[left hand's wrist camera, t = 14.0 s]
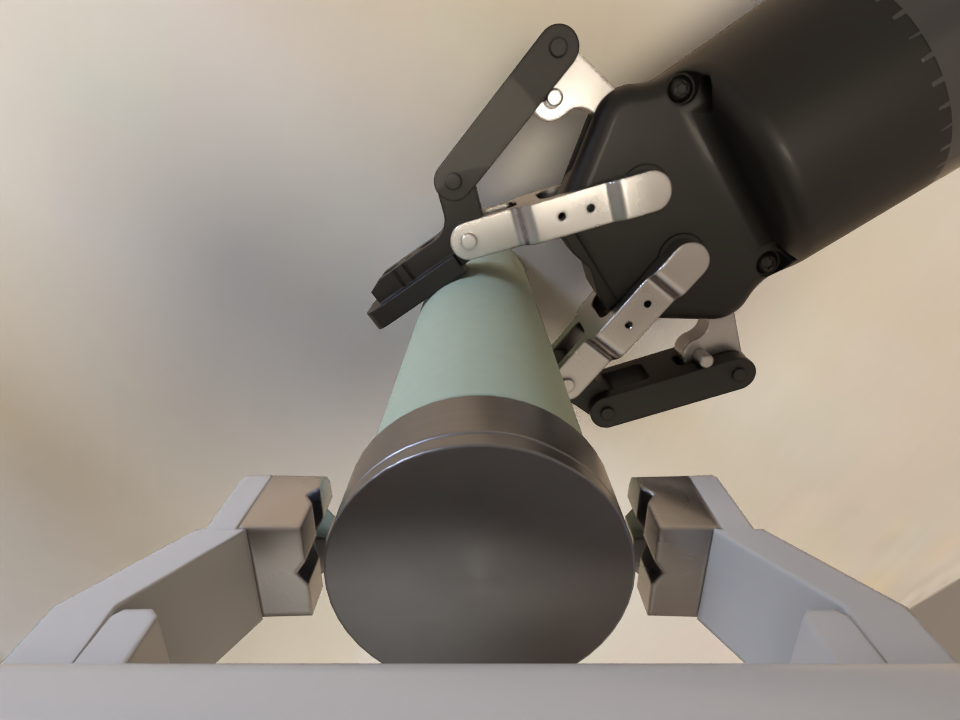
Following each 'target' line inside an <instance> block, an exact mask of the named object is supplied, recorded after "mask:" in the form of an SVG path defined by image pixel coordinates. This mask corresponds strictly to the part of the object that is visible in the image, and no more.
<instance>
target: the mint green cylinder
mask: <svg viewBox="0 0 960 720" xmlns="http://www.w3.org/2000/svg"><path fill="white" fill-rule="evenodd" d="M469 395H489V396H498V397H507V398H511V399H515V400H519V401H524V402H527V403H529V404H532V405H535V406H537V407H540V408H543V409H545V410H547V411H548V412H550V413H552V414H554V415H556V416H558V417H560V418H561V419H562V420H564V421H565V422H567V423H568V424H569V425H571V426H572V427H574V428H575V429H576V430H577V431H578V432H579V433H580V434H581V435H582V432H581V430H580V427H579V424H578V421H577V418H576V415H575V412H574V410H573V407H572V404H571V401H570V398H569V395H568V392H567V390H566V387H565V384H564V381H563V378H562V375H561V372H560V370H559V367H558V364H557V361H556V358H555V355H554V352H553V350H552V347H551V344H550V341H549V338H548V335H547V332H546V330H545V327H544V324H543V321H542V318H541V315H540V312H539V310H538V307H537V304H536V301H535V298H534V295H533V292H532V290H531V287H530V284H529V281H528V278H527V275H526V272H525V270H524V267H523V265H522V263H521V261H520V260H519V258H518V257H517V256H516V254H515V253H514V252H513V251H512V250H510V249H508V250H505V251H501V252H498V253H494V254H491V255H487V256H484V257H480V258H477V259H473V260H470V261H468V262H467V263H466V270H465V273H464V274H462V275H461V276H459V277H458V278H457V279H455V280H454V281H452V282H451V283H449V284H448V285H446V286H444V287H443V288H441V289H440V290H438V291H437V292H436V293H434V294H433V295H431V296H430V297H429V298H427V299H426V300H424V302H423V305H422V308H421V311H420V314H419V317H418V319H417V322H416V325H415V328H414V331H413V334H412V336H411V339H410V342H409V345H408V348H407V351H406V353H405V356H404V359H403V362H402V365H401V368H400V370H399V373H398V376H397V379H396V382H395V385H394V388H393V390H392V393H391V396H390V399H389V402H388V405H387V407H386V410H385V413H384V416H383V419H382V422H381V424H380V427H379V430H378V433H377V435H378V434H379V433H380V432H381V431H382V430H384V429H385V428H386V427H387V426H388V425H390V424H391V423H393V422H394V421H395V420H397V419H398V418H400V417H401V416H403V415H405V414H407V413H409V412H411V411H413V410H414V409H417V408H419V407H422V406H424V405H427V404H430V403H432V402H436V401H440V400H444V399H448V398H453V397H461V396H469ZM582 436H583V435H582Z"/></svg>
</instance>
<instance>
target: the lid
mask: <svg viewBox="0 0 960 720" xmlns="http://www.w3.org/2000/svg"><path fill="white" fill-rule="evenodd" d="M324 577H325V584H326V590H327V593H328V596H329V599H330V603H331V605H332V607H333V609H334V611H335V614H336V616H337V618H338V619H339V621H340V622H341V624H342V625H343V627H344V628H345V630H346V631H347V633H348V634H349V635H350V636H351V637H352V638H353V639H354V640H355V642H356V643H357V644H358V645H359V646H360V647H362V648H363V649H364V650H365V651H366V652H367V653H368V654H370V655H371V656H372V657H374V658H375V659H377V660H378V661H379V662H381V663H382V664H577V663H578V662H580V661H581V660H583V659H584V658H586V657H587V656H588V655H590V654H591V653H592V652H593V651H594V650H595V649H596V648H598V647H599V646H600V645H601V644H602V643H603V642H604V641H605V640H606V638H607V637H608V636H609V635H610V634H611V633H612V632H613V630H614V629H615V627H616V626H617V624H618V623H619V621H620V620H621V618H622V616H623V614H624V612H625V610H626V608H627V605H628V603H629V600H630V597H631V593H632V590H633V586H634V578H635V553H634V548H633V543H632V538H631V535H630V533H629V530H628V528H627V525H626V523H625V520H624V517H623V515H622V512H621V509H620V507H619V504H618V502H617V499H616V496H615V494H614V491H613V488H612V486H611V483H610V481H609V478H608V476H607V473H606V470H605V468H604V465H603V463H602V462H601V460H600V458H599V457H598V455H597V453H596V451H595V450H594V449H593V448H592V446H591V445H590V444H589V443H588V441H587V440H586V439H585V438H584V437H583V436H582V435H581V434H580V433H579V432H578V431H577V430H576V429H575V428H574V427H572V426H571V425H569V424H568V423H567V422H565V421H564V420H562V419H561V418H560V417H558V416H556V415H554V414H552V413H550V412H548V411H547V410H545V409H543V408H540V407H537V406H535V405H532V404H529V403H527V402H524V401H519V400H515V399H511V398H507V397H498V396H489V395H469V396H461V397H453V398H448V399H444V400H440V401H436V402H432V403H430V404H427V405H424V406H422V407H419V408H417V409H414V410H413V411H411V412H409V413H407V414H405V415H403V416H401V417H400V418H398V419H397V420H395V421H394V422H393V423H391V424H390V425H388V426H387V427H386V428H385V429H384V430H382V431H381V432H380V433H379V434H378V435H377V436H376V437H375V438H374V439H373V440H372V442H371V443H370V444H369V445H368V447H367V448H366V449H365V450H364V452H363V453H362V455H361V457H360V459H359V460H358V462H357V464H356V466H355V468H354V471H353V473H352V476H351V479H350V481H349V484H348V486H347V489H346V492H345V494H344V497H343V499H342V502H341V505H340V507H339V510H338V512H337V515H336V518H335V520H334V523H333V526H332V528H331V531H330V533H329V536H328V539H327V544H326V549H325V554H324Z"/></svg>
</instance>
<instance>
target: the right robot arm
mask: <svg viewBox="0 0 960 720" xmlns="http://www.w3.org/2000/svg"><path fill="white" fill-rule="evenodd" d="M571 109H581V110H583V111H585V112H586V113H588V116H587V119H586V122H585V124H584V127H583V129H582V132H581V134H580V137H579V139H578V142H577V144H576V147H575V150H574V152H573V155H572V157H571V160H570V162H569V165H568V167H567V170H566V172H565V175H564V178H563V180H562V183H561V184H559V185H556V186H552V187H549V188H546V189H542V190H539V191H536V192H532V193H529V194H526V195H522V196H519V197H517V198H514V199H513V200H510V201H507V202H504V203H501V204H497V205H494V206H491V207H487V208H484V209H482V208H481V204H480V200H479V196H478V192H477V188H476V184H477V183H478V182H479V180H480V179H481V178H482V177H483V175H484V174H485V173H486V172H487V170H488V169H489V168H490V167H491V165H492V164H493V163H494V162H495V160H496V159H497V158H498V157H499V155H500V154H501V153H502V152H503V150H504V149H505V148H506V147H507V145H508V144H509V143H510V142H511V140H512V139H513V138H514V137H515V135H516V134H517V133H518V132H519V130H520V129H521V128H522V127H523V125H524V124H525V123H526V122H527V120H528V119H529V118H530V117H531V115H532V114H534V115H535V116H536V117H537V118H538V119H540V120H542V121H553V120H557V119H559V118H561V117H562V116H563V115H565V114H566V113H567V112H568V111H569V110H571ZM959 167H960V0H765V1H764V2H762V3H761V4H760V5H758V6H757V7H755V8H754V9H753V10H751V11H750V12H748V13H747V14H746V15H744V16H743V17H741V18H740V19H738V20H737V21H736V22H734V23H733V24H731V25H730V26H729V27H727V28H726V29H724V30H723V31H721V32H720V33H719V34H717V35H716V36H714V37H713V38H712V39H710V40H709V41H707V42H706V43H705V44H703V45H702V46H700V47H699V48H697V49H696V50H695V51H693V52H692V53H690V54H689V55H688V56H686V57H685V58H683V59H682V60H680V61H679V62H678V63H676V64H675V65H673V66H672V67H671V68H669V69H668V70H666V71H665V72H663V73H662V74H660V75H659V76H657V77H656V78H654V79H652V80H651V81H649V82H645V83H639V84H627V85H623V86H620V87H618V88H614V87H613V86H612V85H611V84H610V83H609V82H608V81H607V80H606V79H605V78H604V77H603V76H602V75H601V74H600V73H599V72H598V71H597V70H596V69H595V68H594V67H593V66H592V65H591V64H590V63H589V62H588V61H587V60H586V59H585V58H584V57H583V56H582V55H581V54H580V53H579V40H578V37H577V35H576V33H575V32H574V30H573V29H572V28H570V27H569V26H567V25H565V24H554V25H551V26H549V27H548V28H546V29H545V30H544V31H543V32H542V34H541V35H540V36H539V38H538V39H537V40H536V42H535V43H534V44H533V46H532V47H531V48H530V49H529V51H528V52H527V53H526V55H525V56H524V57H523V59H522V60H521V61H520V62H519V64H518V65H517V66H516V68H515V69H514V70H513V72H512V73H511V74H510V75H509V77H508V78H507V79H506V81H505V82H504V83H503V85H502V86H501V87H500V88H499V90H498V91H497V92H496V94H495V95H494V96H493V98H492V99H491V100H490V101H489V103H488V104H487V105H486V107H485V108H484V109H483V111H482V112H481V113H480V114H479V116H478V117H477V118H476V120H475V121H474V122H473V124H472V125H471V126H470V128H469V129H468V130H467V131H466V133H465V134H464V135H463V137H462V138H461V139H460V141H459V142H458V143H457V144H456V146H455V147H454V148H453V150H452V151H451V152H450V154H449V155H448V156H447V157H446V159H445V160H444V161H443V163H442V164H441V165H440V167H439V168H438V169H437V171H436V173H435V177H434V185H435V189H436V191H437V192H438V194H439V198H440V202H441V205H442V209H443V213H444V218H445V223H444V228H443V229H442V230H441V232H440V233H438V234H437V235H436V236H434V237H433V238H431V239H430V240H429V241H427V242H426V243H424V244H423V245H421V246H420V247H419V248H417V249H416V250H414V251H413V252H412V253H410V254H409V255H407V256H406V257H404V258H403V259H402V260H400V261H399V262H397V263H396V264H395V265H393V266H392V267H390V268H389V269H387V270H386V271H385V272H384V274H383V275H382V276H381V278H380V279H379V281H378V282H377V284H376V286H375V287H374V289H373V291H372V292H371V293H372V294H373V295H374V297H375V298H376V299H377V300H376V301H375V302H374V303H373V305H372V306H371V308H370V309H369V311H368V312H367V314H368V316H369V317H370V318H371V319H372V321H373V322H374V323H375V324H376V326H377V327H378V328H379V329H382V328H384V327H386V326H387V325H389V324H390V323H392V322H393V321H395V320H396V319H398V318H399V317H401V316H402V315H404V314H405V313H406V312H408V311H409V310H411V309H412V308H414V307H415V306H417V305H418V304H420V303H421V302H423V301H424V300H426V299H427V298H429V297H430V296H431V295H433V294H434V293H436V292H437V291H438V290H440V289H441V288H443V287H444V286H446V285H448V284H449V283H451V282H452V281H454V280H455V279H457V278H458V277H459V276H461V275H462V274H464V273H465V270H466V263H467V262H468V261H470V260H473V259H477V258H480V257H484V256H487V255H491V254H494V253H498V252H501V251H505V250H508V249H511V248H515V247H518V246H523V245H534V244H539V243H543V242H546V241H550V240H553V239H557V238H560V237H561V238H562V240H563V242H564V243H565V244H566V245H567V247H568V248H569V249H570V250H571V251H572V253H573V254H574V255H576V256H577V257H578V258H579V259H580V260H581V261H582V264H583V268H584V271H585V275H586V278H587V280H588V282H589V283H590V285H591V286H592V288H593V290H594V291H593V292H592V293H591V294H590V296H589V297H588V298H587V299H586V300H585V301H584V303H583V304H582V305H581V306H580V308H579V309H578V311H577V313H576V316H575V318H574V320H573V321H572V323H571V324H570V325H569V326H568V327H567V328H566V330H565V331H564V332H563V333H562V334H561V335H560V337H559V338H558V339H557V340H556V341H555V342H554V343H553V345H552V346H551V347H552V350H553V352H554V355H555V358H556V361H557V364H558V367H559V370H560V372H561V375H562V378H563V381H564V384H565V387H566V390H567V392H568V395H569V398H570V401H571V403H573V404H575V405H576V406H577V407H579V408H580V409H582V410H583V411H585V412H586V413H588V414H589V415H590V416H591V419H592V421H593V422H594V423H595V424H596V425H598V426H600V427H604V428H608V427H612V426H616V425H619V424H623V423H626V422H629V421H633V420H636V419H640V418H643V417H647V416H650V415H653V414H657V413H660V412H664V411H667V410H670V409H674V408H677V407H681V406H684V405H688V404H691V403H694V402H698V401H701V400H705V399H708V398H711V397H715V396H718V395H722V394H725V393H729V392H732V391H735V390H739V389H742V388H745V387H746V386H748V385H749V384H750V383H751V382H752V381H753V379H754V378H755V374H756V368H755V365H754V364H753V363H752V362H751V361H750V360H749V359H748V358H746V357H745V355H744V354H743V353H742V352H741V348H740V343H739V337H738V332H737V326H736V320H735V315H734V312H735V311H737V310H738V309H739V308H740V307H741V306H742V305H743V304H744V302H745V301H746V300H747V298H748V297H749V295H750V294H751V292H752V291H753V290H754V289H755V288H756V287H757V285H758V284H759V283H761V282H762V281H763V280H764V279H765V278H767V277H768V276H770V275H772V274H774V273H776V272H778V271H781V270H783V269H785V268H788V267H790V266H792V265H795V264H797V263H799V262H801V261H803V260H804V259H806V258H808V257H809V256H811V255H813V254H815V253H816V252H818V251H820V250H821V249H823V248H825V247H826V246H828V245H830V244H831V243H833V242H835V241H836V240H838V239H840V238H841V237H843V236H845V235H846V234H848V233H850V232H851V231H853V230H855V229H856V228H858V227H860V226H862V225H863V224H865V223H867V222H868V221H870V220H872V219H873V218H875V217H877V216H878V215H880V214H882V213H883V212H885V211H887V210H888V209H890V208H892V207H893V206H895V205H897V204H898V203H900V202H902V201H903V200H905V199H907V198H908V197H910V196H912V195H913V194H915V193H917V192H918V191H920V190H922V189H923V188H925V187H927V186H928V185H930V184H932V183H933V182H935V181H937V180H938V179H940V178H942V177H944V176H945V175H947V174H949V173H950V172H952V171H954V170H955V169H957V168H959ZM658 318H684V319H699V320H698V322H697V324H696V325H695V327H694V328H692V329H691V330H690V331H688V332H686V333H684V334H682V335H680V336H679V338H678V339H677V341H676V343H675V347H674V348H670V349H667V350H664V351H661V352H657V353H654V354H651V355H647V356H644V357H641V358H638V359H634V360H631V361H628V362H625V363H621V364H618V365H615V366H611V367H608V368H605V369H603V368H604V367H605V366H606V365H607V364H608V363H609V362H610V361H611V360H614V359H618V358H620V357H622V356H623V355H624V354H625V353H626V352H627V351H628V350H629V349H630V348H631V347H632V346H633V345H634V344H635V342H636V341H637V340H638V339H639V338H640V337H641V336H642V335H643V334H644V333H645V332H646V331H647V329H648V328H649V327H650V326H651V325H652V324H653V323H654V322H655V321H656V320H657V319H658ZM626 322H628V323H627V324H625V323H626Z"/></svg>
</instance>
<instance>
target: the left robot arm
mask: <svg viewBox="0 0 960 720" xmlns="http://www.w3.org/2000/svg"><path fill="white" fill-rule="evenodd" d="M331 498H332V491H331V484H330V480H329V479H328V478H327V477H324V476H272V475H249V476H246V477H243V478H242V479H241V481H240V482H239V483H238V485H237V486H236V487H235V489H234V490H233V492H232V493H231V494H230V496H229V497H228V499H227V500H226V501H225V503H224V504H223V506H222V507H221V508H220V510H219V511H218V513H217V514H216V515H215V517H214V518H213V520H212V521H211V522H210V524H209V525H208V527H207V528H206V529H197V530H195V531H193V532H191V533H189V534H187V535H186V536H184V537H182V538H180V539H178V540H176V541H174V542H173V543H171V544H169V545H167V546H165V547H163V548H161V549H160V550H158V551H156V552H154V553H152V554H150V555H149V556H147V557H145V558H143V559H141V560H139V561H137V562H136V563H134V564H132V565H130V566H128V567H126V568H124V569H123V570H121V571H119V572H117V573H115V574H113V575H112V576H110V577H108V578H106V579H104V580H102V581H100V582H99V583H97V584H95V585H93V586H91V587H89V588H87V589H86V590H84V591H82V592H80V593H78V594H76V595H74V596H73V597H71V598H69V599H67V600H65V601H63V602H62V603H60V604H58V605H56V606H54V607H53V608H52V609H51V610H50V611H49V612H48V613H47V614H46V615H45V617H44V618H43V619H42V620H41V621H40V622H39V623H38V624H37V625H36V626H35V627H34V628H33V630H32V631H31V632H30V633H29V634H28V635H27V636H26V637H25V638H24V639H23V640H22V641H21V643H20V644H19V645H18V646H17V647H16V648H15V649H14V650H13V651H12V652H11V653H10V654H9V656H8V657H7V658H6V659H5V660H4V661H3V662H2V663H0V720H960V663H958V662H957V661H956V660H955V659H954V658H953V657H952V656H951V655H950V653H949V652H948V651H947V650H946V649H945V648H944V647H943V646H942V645H941V644H940V643H939V641H938V640H937V639H936V638H935V637H934V636H933V635H932V634H931V633H930V632H929V631H928V629H927V628H926V627H925V626H924V625H923V624H922V623H921V622H920V621H919V620H918V619H917V617H916V616H915V615H914V614H913V613H912V612H911V611H910V610H909V609H908V608H907V607H905V606H903V605H902V604H900V603H898V602H896V601H894V600H892V599H891V598H889V597H887V596H885V595H883V594H881V593H879V592H878V591H876V590H874V589H872V588H870V587H868V586H867V585H865V584H863V583H861V582H859V581H857V580H856V579H854V578H852V577H850V576H848V575H846V574H844V573H843V572H841V571H839V570H837V569H835V568H833V567H832V566H830V565H828V564H826V563H824V562H822V561H820V560H819V559H817V558H815V557H813V556H811V555H809V554H808V553H806V552H804V551H802V550H800V549H798V548H796V547H795V546H793V545H791V544H789V543H787V542H785V541H784V540H782V539H780V538H778V537H776V536H774V535H773V534H771V533H769V532H767V531H765V530H763V529H754V528H753V527H752V525H751V524H750V523H749V521H748V520H747V518H746V517H745V516H744V514H743V513H742V511H741V510H740V509H739V507H738V506H737V505H736V503H735V502H734V500H733V499H732V498H731V496H730V495H729V493H728V492H727V491H726V489H725V488H724V487H723V485H722V484H721V482H720V481H719V480H718V478H717V477H715V476H713V475H697V476H673V477H632V478H631V481H630V484H629V490H628V498H629V501H630V503H631V506H632V508H633V509H632V510H631V511H630V512H629V513H628V514H627V515H626V516H625V523H626V525H627V528H628V530H629V533H630V535H631V538H632V543H633V548H634V553H635V572H637V573H638V574H639V575H638V583H637V587H638V590H639V593H640V596H641V598H642V601H643V604H644V606H645V609H646V612H647V615H654V616H690V617H697V619H698V620H699V621H700V622H701V623H702V624H703V625H704V626H705V627H706V628H707V629H708V630H710V631H711V632H712V633H713V634H714V635H715V636H716V637H717V638H718V639H719V640H720V641H721V642H723V643H724V644H725V645H726V646H727V647H728V648H729V649H730V650H731V651H732V652H733V653H734V654H735V655H737V656H738V657H739V658H740V659H741V660H742V661H743V662H744V663H745V664H215V663H216V662H217V661H218V660H219V659H220V658H221V657H223V656H224V655H225V654H226V653H227V652H228V651H229V650H230V649H231V648H232V647H233V646H234V645H236V644H237V643H238V642H239V641H240V640H241V639H242V638H243V637H244V636H245V635H246V634H247V633H248V632H250V631H251V630H252V629H253V628H254V627H255V626H256V625H257V624H258V623H259V622H260V621H261V620H263V618H262V617H269V616H304V615H313V612H314V609H315V606H316V604H317V601H318V598H319V595H320V593H321V590H322V587H323V583H322V575H321V574H322V573H323V572H324V554H325V549H326V544H327V539H328V536H329V533H330V531H331V528H332V526H333V523H334V520H335V516H334V515H333V514H332V513H331V512H330V511H329V510H328V509H327V508H328V506H329V503H330V501H331Z"/></svg>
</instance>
